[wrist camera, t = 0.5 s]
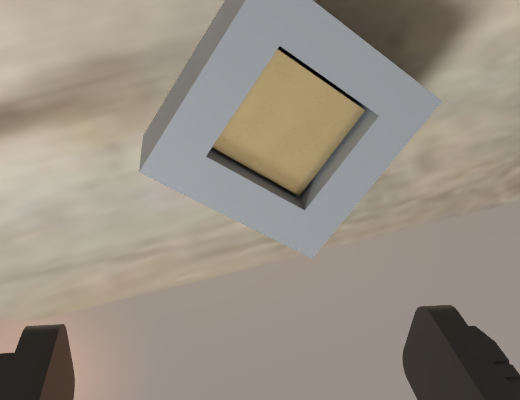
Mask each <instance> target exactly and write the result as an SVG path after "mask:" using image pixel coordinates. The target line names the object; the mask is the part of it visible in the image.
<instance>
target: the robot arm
mask: <svg viewBox="0 0 520 400" xmlns="http://www.w3.org/2000/svg"><path fill="white" fill-rule="evenodd" d="M403 367H404V371H405V374H406V377H407V379H408V381H409V383H410V385H411V387H412V389H413V392H414V394H415V395H416V397H417V400H520V375H519V373H518V372H517V370H516V369H515V368H514V366H513V365H510V364H509V360H508V358H507V357H506V356H505V354H504V353H503V352H502V351H501V349H500V348H499V346H498V345H497V344H496V342H495V341H493V340H492V339H491V338H490V337H488V336H487V335H486V334H485V333H483V332H482V331H481V330H480V329H478V328H477V327H476V326H468V325H467V324H466V322H465V321H464V319H463V318H462V317H461V315H460V314H459V312H458V311H457V310H456V308H454V307H453V306H451V305H440V306H422V307H418V308H417V310H416V312H415V315H414V318H413V321H412V324H411V328H410V331H409V334H408V337H407V341H406V344H405V347H404V350H403ZM74 387H75V377H74V369H73V363H72V358H71V352H70V347H69V341H68V336H67V330H66V327H65V325H64V324H59V325H40V326H27V327H25V329H24V330H23V332H22V335H21V337H20V340H19V343H18V345H17V348H16V351H15V353H3V354H0V400H73V398H74Z"/></svg>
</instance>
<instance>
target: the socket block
mask: <svg viewBox="0 0 520 400" xmlns="http://www.w3.org/2000/svg"><path fill="white" fill-rule="evenodd" d="M279 46H281V47H282V48H283V49H285V50H286V51H288V52H289V53H291V54H292V55H293V56H295V57H296V58H298V59H299V60H301V61H302V62H303V63H305V64H306V65H308V66H309V67H310V68H312V69H313V70H315V71H316V72H318V73H319V74H320V75H322V76H323V77H325V78H326V79H327V80H329V81H330V82H332V83H333V84H335V85H336V86H337V87H339V88H340V89H342V90H343V91H345V92H346V93H345V95H346V96H348V97H349V98H351V99H352V100H353V101H355V102H356V103H358V104H359V105H360V106H361V107H362V108H363V109H364V110H365V111H364V113H363V114H362V115H361V117H360V118H359V119H358V121H357V122H356V123H355V124H354V126H353V127H352V128H351V130H350V131H349V132H348V133H347V135H346V136H345V137H344V139H343V140H342V141H341V143H340V144H339V145H338V146H337V148H336V149H335V150H334V152H333V153H332V154H331V156H330V157H329V158H328V159H327V161H326V162H325V163H324V165H323V166H322V167H321V169H320V170H319V171H318V172H317V174H316V175H315V176H314V178H313V179H312V180H311V181H310V183H309V184H308V185H307V187H306V188H305V189H304V191H303V192H302V193H301V194H300V196H299V195H297V194H295V193H293V192H291V191H290V190H288V189H286V188H284V187H282V186H281V185H279V184H277V183H275V182H273V181H272V180H270V179H268V178H266V177H265V176H263V175H261V174H259V173H257V172H256V171H254V170H252V169H250V168H248V167H247V166H245V165H243V164H241V163H239V162H238V161H236V160H234V159H232V158H231V157H229V156H227V155H225V154H223V153H222V152H220V151H218V150H216V149H214V148H213V145H214V144H215V142H216V141H217V139H218V138H219V136H220V135H221V133H222V132H223V130H224V129H225V127H226V126H227V124H228V123H229V121H230V120H231V118H232V117H233V115H234V114H235V112H236V111H237V109H238V108H239V106H240V105H241V103H242V102H243V100H244V99H245V97H246V96H247V94H248V93H249V91H250V90H251V88H252V87H253V85H254V84H255V82H256V81H257V79H258V78H259V76H260V75H261V73H262V72H263V70H264V69H265V67H266V66H267V64H268V63H269V61H270V60H271V58H272V57H273V55H274V54H275V52H276V51H277V49H278V48H279ZM441 102H442V100H440V99H439V98H438V97H436V96H435V95H434V94H433V93H431V92H430V91H429V90H427V89H426V88H425V87H424V86H422V85H421V84H420V83H418V82H417V81H416V80H415V79H413V78H412V77H411V76H409V75H408V74H407V73H406V72H404V71H403V70H402V69H400V68H399V67H398V66H397V65H395V64H394V63H393V62H391V61H390V60H389V59H388V58H386V57H385V56H384V55H382V54H381V53H380V52H379V51H377V50H376V49H375V48H373V47H372V46H371V45H370V44H368V43H367V42H366V41H364V40H363V39H362V38H361V37H359V36H358V35H357V34H355V33H354V32H353V31H352V30H350V29H349V28H348V27H347V26H345V25H344V24H343V23H341V22H340V21H339V20H338V19H336V18H335V17H334V16H332V15H331V14H330V13H329V12H327V11H326V10H325V9H323V8H322V7H321V6H320V5H318V4H317V3H316V2H314V1H313V0H225V2H224V3H223V5H222V7H221V8H220V10H219V12H218V13H217V15H216V17H215V18H214V20H213V22H212V23H211V25H210V26H209V28H208V30H207V31H206V33H205V35H204V36H203V38H202V40H201V41H200V43H199V45H198V46H197V48H196V50H195V51H194V53H193V55H192V56H191V58H190V60H189V61H188V63H187V65H186V66H185V68H184V70H183V71H182V73H181V75H180V76H179V78H178V79H177V81H176V83H175V84H174V86H173V88H172V89H171V91H170V93H169V94H168V96H167V98H166V99H165V101H164V103H163V104H162V106H161V108H160V109H159V111H158V113H157V114H156V116H155V118H154V119H153V121H152V123H151V124H150V126H149V128H148V129H147V131H146V132H145V134H144V136H143V142H142V151H141V160H140V169H139V172H140V173H142V174H144V175H146V176H148V177H150V178H152V179H154V180H156V181H158V182H160V183H162V184H164V185H166V186H168V187H170V188H172V189H174V190H176V191H178V192H180V193H182V194H184V195H186V196H188V197H190V198H192V199H194V200H196V201H198V202H200V203H202V204H204V205H206V206H208V207H210V208H212V209H214V210H216V211H218V212H220V213H222V214H224V215H226V216H228V217H230V218H232V219H234V220H236V221H238V222H240V223H242V224H244V225H246V226H248V227H250V228H252V229H254V230H256V231H258V232H260V233H262V234H264V235H266V236H268V237H270V238H272V239H274V240H276V241H278V242H280V243H282V244H284V245H286V246H288V247H290V248H292V249H294V250H296V251H298V252H300V253H302V254H304V255H306V256H308V257H310V258H313V257H314V255H315V254H316V253H317V252H318V251H319V249H320V248H321V247H322V246H323V245H324V243H325V242H326V241H327V240H328V239H329V237H330V236H331V235H332V234H333V233H334V231H335V230H336V229H337V228H338V226H339V225H340V224H341V223H342V222H343V220H344V219H345V218H346V217H347V216H348V214H349V213H350V212H351V211H352V210H353V208H354V207H355V206H356V205H357V203H358V202H359V201H360V200H361V199H362V197H363V196H364V195H365V194H366V193H367V191H368V190H369V189H370V188H371V187H372V185H373V184H374V183H375V182H376V181H377V179H378V178H379V177H380V176H381V174H382V173H383V172H384V171H385V170H386V168H387V167H388V166H389V165H390V164H391V162H392V161H393V160H394V159H395V158H396V156H397V155H398V154H399V153H400V152H401V150H402V149H403V148H404V147H405V145H406V144H407V143H408V142H409V141H410V139H411V138H412V137H413V136H414V135H415V133H416V132H417V131H418V130H419V129H420V127H421V126H422V125H423V124H424V122H425V121H426V120H427V119H428V118H429V116H430V115H431V114H432V113H433V112H434V110H435V109H436V108H437V107H438V106H439V104H440V103H441Z"/></svg>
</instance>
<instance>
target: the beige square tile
mask: <svg viewBox="0 0 520 400" xmlns="http://www.w3.org/2000/svg"><path fill="white" fill-rule="evenodd" d="M364 111H365V110H364V109H363V108H362V107H361V106H360V105H359V104H358V103H356V102H355V101H353V100H352V99H351V98H349V97H348V96H346V95H345V94H343V93H342V92H341V91H339V90H338V89H336V88H335V87H333V86H332V85H331V84H329V83H328V82H326V81H325V80H323V79H322V78H321V77H319V76H318V75H316V74H315V73H313V72H312V71H311V70H309V69H308V68H306V67H305V66H303V65H302V64H301V63H299V62H298V61H296V60H295V59H293V58H292V57H291V56H289V55H288V54H286V53H285V52H283V51H282V50H281V49H279V48H278V49H277V51H276V52H275V54H274V55H273V57H272V58H271V60H270V61H269V63H268V64H267V66H266V67H265V69H264V70H263V72H262V73H261V75H260V76H259V78H258V79H257V81H256V82H255V84H254V85H253V87H252V88H251V90H250V91H249V93H248V94H247V96H246V97H245V99H244V100H243V102H242V103H241V105H240V106H239V108H238V109H237V111H236V112H235V114H234V115H233V117H232V118H231V120H230V121H229V123H228V124H227V126H226V127H225V129H224V130H223V132H222V133H221V135H220V136H219V138H218V139H217V141H216V142H215V144H214V145H213V148H214V149H216V150H218V151H220V152H222V153H223V154H225V155H227V156H229V157H231V158H232V159H234V160H236V161H238V162H239V163H241V164H243V165H245V166H247V167H248V168H250V169H252V170H254V171H256V172H257V173H259V174H261V175H263V176H265V177H266V178H268V179H270V180H272V181H273V182H275V183H277V184H279V185H281V186H282V187H284V188H286V189H288V190H290V191H291V192H293V193H295V194H297V195H299V196H300V194H301V193H302V192H303V191H304V189H305V188H306V187H307V185H308V184H309V183H310V181H311V180H312V179H313V178H314V176H315V175H316V174H317V172H318V171H319V170H320V169H321V167H322V166H323V165H324V163H325V162H326V161H327V159H328V158H329V157H330V156H331V154H332V153H333V152H334V150H335V149H336V148H337V146H338V145H339V144H340V143H341V141H342V140H343V139H344V137H345V136H346V135H347V133H348V132H349V131H350V130H351V128H352V127H353V126H354V124H355V123H356V122H357V121H358V119H359V118H360V117H361V115H362V114H363V113H364Z"/></svg>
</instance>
